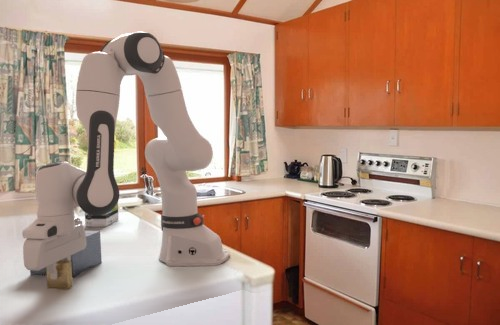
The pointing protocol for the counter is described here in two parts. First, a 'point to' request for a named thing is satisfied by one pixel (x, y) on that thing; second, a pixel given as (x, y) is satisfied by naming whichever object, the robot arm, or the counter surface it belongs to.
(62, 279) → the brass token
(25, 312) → the counter surface
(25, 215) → the counter surface
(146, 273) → the counter surface
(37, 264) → the robot arm
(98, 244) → the money box
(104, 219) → the tea box
